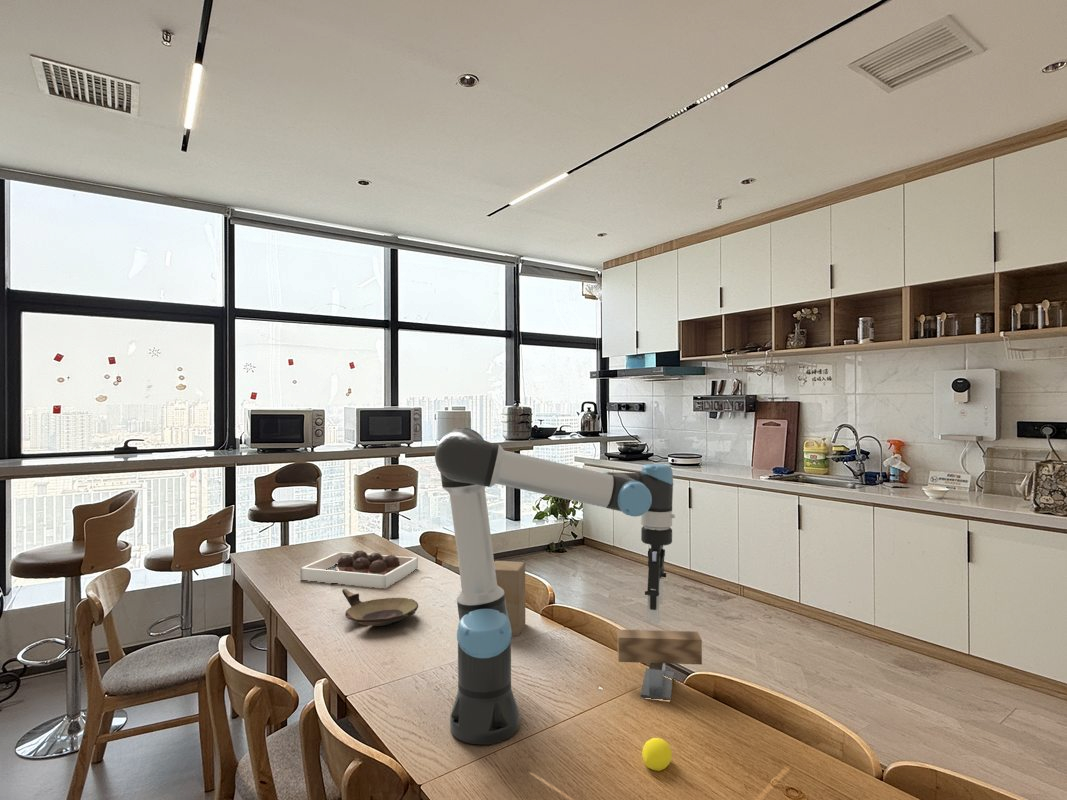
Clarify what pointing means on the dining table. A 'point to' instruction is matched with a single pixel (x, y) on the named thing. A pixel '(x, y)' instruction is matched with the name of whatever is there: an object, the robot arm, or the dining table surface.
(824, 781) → the dining table surface
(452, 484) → the robot arm
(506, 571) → the wooden block
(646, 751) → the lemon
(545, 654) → the dining table surface
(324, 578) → the truffle corral
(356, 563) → the chocolate truffle
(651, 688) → the fulcrum
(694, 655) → the walnut bar
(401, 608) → the olive brown pan
